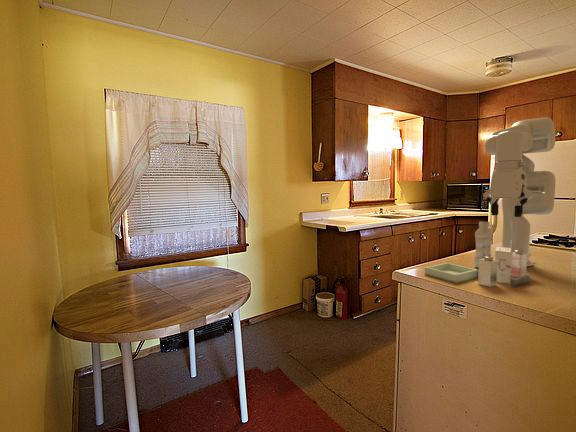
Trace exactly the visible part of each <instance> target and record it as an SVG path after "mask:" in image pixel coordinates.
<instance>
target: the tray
mask: <svg viewBox="0 0 576 432" xmlns="http://www.w3.org/2000/svg"><path fill="white" fill-rule="evenodd" d="M478 272H479V269H478V268H477V269H476V268H472V267H468V266H462V265H458V264H455V263H450V262H445V263H438V264H435V265H430V266H425V267H424V275H426V274H427V275H426V276H429V275H430V277H432V276H433V278H436V277H437V278H436V279H439V278H440V280H442V279H443V281H446V282H450V283H453V284H458V283H461V282H465V281H470V280H473V279H478Z"/></svg>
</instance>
